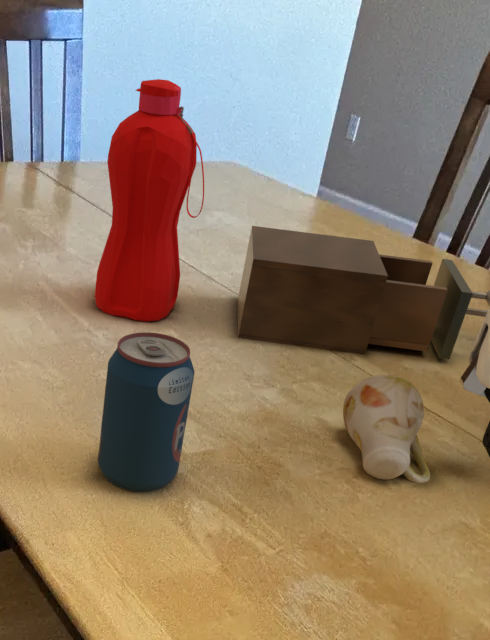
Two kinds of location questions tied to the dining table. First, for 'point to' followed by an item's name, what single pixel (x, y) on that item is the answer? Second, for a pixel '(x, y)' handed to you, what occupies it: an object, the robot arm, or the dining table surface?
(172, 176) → the water bottle
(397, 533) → the dining table surface
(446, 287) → the drawer
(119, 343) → the soda can
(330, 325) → the cabinet
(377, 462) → the mug
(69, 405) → the dining table surface
